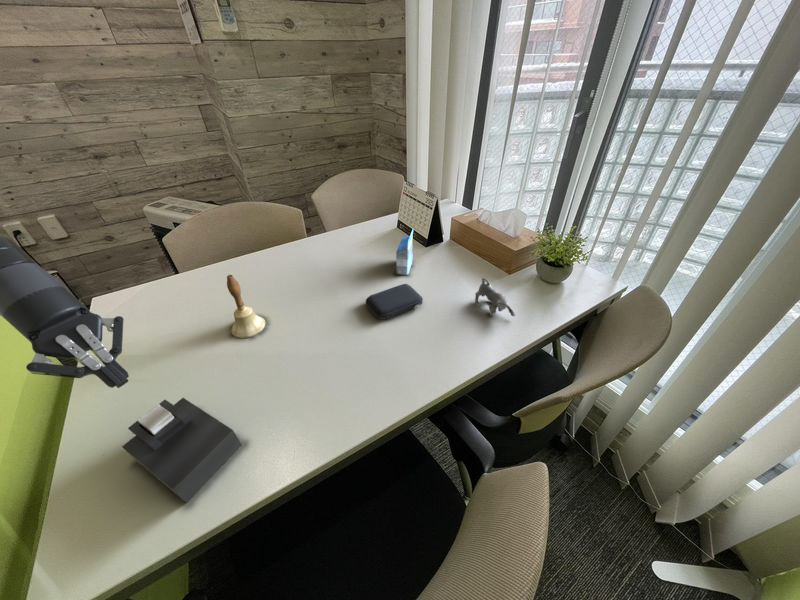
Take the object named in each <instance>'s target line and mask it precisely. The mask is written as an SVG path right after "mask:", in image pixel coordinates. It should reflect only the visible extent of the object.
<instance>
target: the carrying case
mask: <svg viewBox="0 0 800 600" xmlns="http://www.w3.org/2000/svg"><path fill="white" fill-rule="evenodd" d="M423 299H424V298H423V296H421V294H420V293H419V292H417V290H416V289H414V288H413V287H412V286H411V285H410V284H408V283H403V284H400V285H396V286H394V287H390V288H388V289H384V290H382V291H379V292H377V293H374V294H370V295H369V296H368V297H367V298H366V299H365V305H366V306H367V307H368V308H369V309H370V311H371V312H372V313H373V314H374V316H376V318H378V319H380V320H384V319H388V318H391V317H393V316H396V315H398V314H401V313H403V312H406V311H409V310H411V309H412V310H413V311H415V310H416V309H418V308H419V307H421V305H422V304H423V301H424V300H423Z"/></svg>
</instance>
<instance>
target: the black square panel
mask: <svg viewBox="0 0 800 600" xmlns="http://www.w3.org/2000/svg"><path fill="white" fill-rule="evenodd" d="M157 405H160V406H161V407H163V408H164V409H166V410H167V411H169V412H170V413H171V414H172V415H173V417H174V418H175V419H173V420H172V421H171V422H170V423H169V424H167V425H166V426H165V427H164V428H163V429H162V430H160V431H159V432H158V433H157V434H156V435H153V434H152V433H151V432H149V431H148V430H147V429H146V428H144V427H143V426H142V425H141V424H140V423H139V422H138V420H137V421H135V422H134V423H132V424H131V425H130V426H129V427H128V428H127V429H128V430H129V431H130V432H131V434H133V435H134V436H132V438H131V439H130V440H128V441H127V442H126V443H124V444H123V445H122V446H121V448H122V449H123V450H124V451H125V452H126V453H127V454H129V456H130V457H132V458H133V459H134V460H135V461H136V462H137V463H138V464H140V465H141V466H142V467H143V468H145V469H146V470H147V472H149V473H150V474H151V475H153V476H154V477H155V478H156V479H158V480H159V481H160V482H161V483H162V484H163V485H165V486H166V487H167V488H168V489H169V490H171V491H172V492H173V493H174V494H175V495H176V496H178V497H179V498H180V499H181V500H182V501H184V502H185V503H186V504H187V503H189V502H190V501H191V500H192V498H193V497H195V496H196V494H197V493H198V492H200V490H201V489H202V488H203V487H204V486H205V485H206V484H207V483H208V482H209V481H210V480H211V479H212V478H213V476H214V475H216V473H217V472H218V471H219V470H220V469H221V468H222V467H223V466H224V465H225V464H226V463H227V461H229V459H230V458H231V457H233V455H234V454H235V453H236V452H237V451H238V450H239V449H240V448H241V447H242V446H243V444H242V443H241V441H240V439H239V437H238V436H237V434H236V433H235V431H234V430H233V429H232V428H231V427H229V426H228V425H226V424H224V423H223V422H221V421H220V420H218V419H217V418H215V417H213V416H212V415H210V414H209V413H208V412H207V411H205V410H204V409H201V408H200V407H198V406H197V405H196V404H194V403H192V402H191V401H189V400H188V399H186V398H185V397H182V398H180V399H179V400H178V401H177V402H175V403H174V404H173V403H171V402H170V401H168V400H167V399H163V400H162V401H160V402H159V403H158V404H157ZM151 410H152V409H150V410H149V411H151Z"/></svg>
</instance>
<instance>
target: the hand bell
mask: <svg viewBox="0 0 800 600" xmlns="http://www.w3.org/2000/svg"><path fill="white" fill-rule="evenodd" d="M226 287H227V290H228V292H229V294H230V295H231V297H233V299H234V301H235V305H236V309H234V311H233V318H234V323H233V324H232V326H231V334H232V335H233V336H234V337H236V338H238V339H239V338H240V339H245V338H246V339H247V338H251V337H254V336H256V335H258V334H259V333H261V332H262V331H263V330H264V328H265V326H266V320H265V319H264V318H263V317H262V316H259V315H257V314H256V313H255V312H254V310H253V308H252V307H251V306H248V305H245V303H244V300H243V298H242V290H241V285H240V283H239V282H238V280H237V278H235V277H234V275H233V274H228V275H227V276H226Z"/></svg>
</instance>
